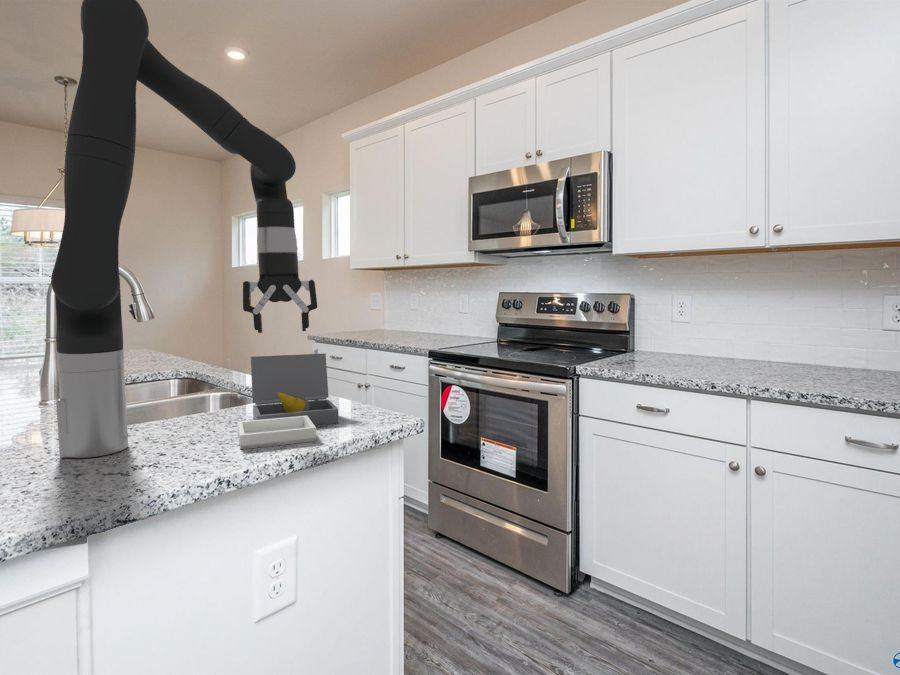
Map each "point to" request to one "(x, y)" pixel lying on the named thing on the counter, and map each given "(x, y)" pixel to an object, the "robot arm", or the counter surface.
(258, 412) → the case
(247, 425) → the tray
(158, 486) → the counter surface
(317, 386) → the lid
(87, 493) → the counter surface
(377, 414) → the counter surface
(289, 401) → the drill bit
